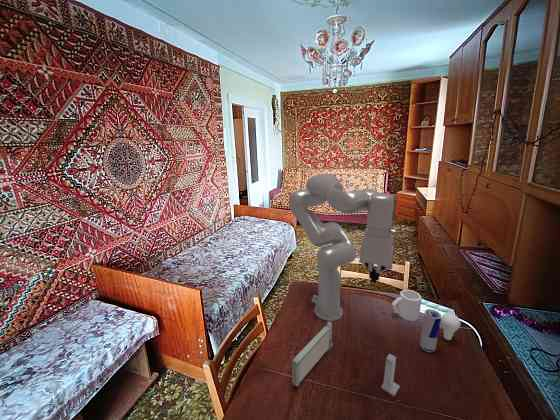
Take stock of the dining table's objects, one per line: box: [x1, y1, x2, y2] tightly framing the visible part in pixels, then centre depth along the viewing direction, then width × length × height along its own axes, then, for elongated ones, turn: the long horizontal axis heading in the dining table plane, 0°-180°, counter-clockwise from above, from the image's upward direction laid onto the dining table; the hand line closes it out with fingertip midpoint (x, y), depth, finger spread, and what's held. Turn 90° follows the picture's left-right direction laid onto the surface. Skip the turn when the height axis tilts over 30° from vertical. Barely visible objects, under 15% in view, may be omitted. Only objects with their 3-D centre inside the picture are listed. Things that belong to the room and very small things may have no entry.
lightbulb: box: [440, 312, 461, 341], centre depth 97 cm, size 6×6×11 cm
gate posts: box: [326, 321, 401, 397], centre depth 87 cm, size 28×4×11 cm, turn 45°
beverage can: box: [419, 308, 442, 353], centre depth 93 cm, size 5×5×15 cm
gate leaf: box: [291, 325, 330, 387], centre depth 86 cm, size 20×2×9 cm, turn 140°
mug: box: [391, 289, 423, 322], centre depth 111 cm, size 12×9×10 cm
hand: (373, 281), depth 89 cm, fingers closed
